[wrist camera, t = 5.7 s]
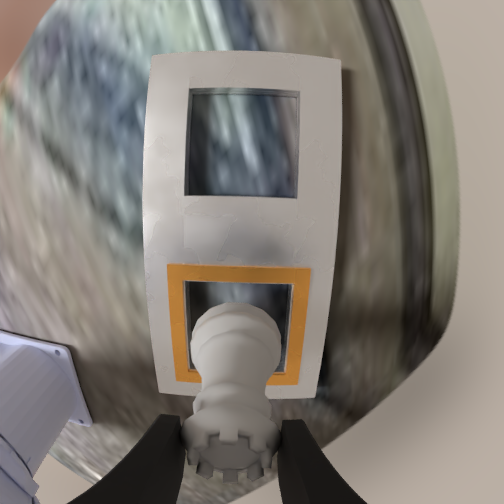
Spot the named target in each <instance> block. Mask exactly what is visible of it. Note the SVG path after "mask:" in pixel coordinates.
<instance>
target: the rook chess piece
mask: <svg viewBox="0 0 504 504" xmlns="http://www.w3.org/2000/svg"><path fill="white" fill-rule="evenodd" d="M190 345H191V358H192V362H193V364H194V366H195V367H196V369H197V371H198V373H199V374H200V376H201V378H202V390H201V392H200V393H198V394H197V396H196V398H195V400H194V402H193V411H194V415H192V416H191V417H189V418H188V419H186V420H185V421H184V423H183V425H182V427H181V429H180V431H179V432H180V438H181V443H182V445H183V446H184V447H185V449H186V450H187V451H188V452H187V460H188V465H197V471H196V473H197V474H198V475H200V476H202V477H204V478H206V479H209V478H211V477H212V476H213V471H217V472H221V473H223V483H229V484H238V474H239V473H244V472H247V478H248V479H250V480H251V481H254V480H256V479H258V478H260V477H263V476H264V470H263V468H271V464H272V457H273V456H274V454H275V453H276V452H277V451H278V450H279V449H280V446H281V439H282V434H281V432H280V430H279V429H278V427H277V425H276V423H274V422H273V421H271V420H270V418H271V411H272V406H271V404H270V402H269V400H268V398H267V396H266V395H265V388H266V383H267V381H268V379H269V378H270V377H271V376H272V374H273V373H274V371H275V370H276V368H277V366H278V365H279V362H280V356H281V335H280V332H279V330H278V327H277V325H276V322H275V321H274V320H273V319H272V318H271V317H270V316H269V315H268V314H267V313H266V312H265V311H264V310H262V309H260V308H257V307H255V306H252V305H250V304H247V303H230V302H227V303H224V304H221V305H218V306H216V307H213V308H210V309H209V310H208V311H207V312H206V313H204V314H203V315H202V316H201V317H200V318H199V319H198V320H197V323H196V325H195V327H194V330H193V332H192V340H191V342H190Z"/></svg>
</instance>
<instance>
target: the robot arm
mask: <svg viewBox="0 0 504 504" xmlns="http://www.w3.org/2000/svg"><path fill="white" fill-rule="evenodd" d="M58 351H59V352H60V353H59V352H58ZM68 421H70V422H73V423H77V424H80V425H84V426H88V427H90V426H91V425H92V423H93V422H92V419H91V417H90V414H89V411H88V408H87V406H86V403H85V400H84V397H83V394H82V391H81V388H80V385H79V382H78V378H77V375H76V372H75V368H74V365H73V361H72V357H71V354H70V351H69V349H68V348H67V347H65V346H62V345H57V344H53V343H48V342H44V341H39V340H35V339H31V338H27V337H23V336H19V335H15V334H11V333H8V332H4V331H1V330H0V504H40V502H39V500H38V499H37V497H36V496H35V494H36V492H37V490H38V488H39V485H38V484H37V483H36V482H35V481H34V480H33V479H32V478H33V476H34V475H35V473H36V471H37V470H38V468H39V466H40V465H41V463H42V461H43V460H44V458H45V457H46V455H47V453H48V452H49V450H50V448H51V447H52V445H53V444H54V442H55V440H56V439H57V437H58V436H59V434H60V433H61V431H62V429H63V428H64V426H65V425H66V423H67V422H68ZM180 429H181V424H180V417H179V416H174V415H165V414H161V415H159V416H158V417H157V419H156V420H155V421H154V423H153V424H152V425H151V427H150V428H149V429H148V431H147V432H146V433H145V434H144V435H143V437H142V438H141V439H140V440H139V442H138V443H137V444H136V445H135V446H134V447H133V448H132V449H131V451H130V452H129V453H128V454H127V455H126V456H125V457H124V458H123V459H122V460H121V461H120V462H119V463H118V464H117V465H116V466H115V467H114V468H113V469H112V470H111V471H110V472H109V473H108V474H107V475H105V476H104V477H103V478H102V479H101V480H100V481H98V482H97V483H96V484H95V485H93V486H92V487H91V488H90V489H88V490H87V491H86V492H84V493H83V494H81V495H80V496H78V497H76V498H75V499H73V500H72V501H70V502H69V503H67V504H176V501H177V498H178V494H179V490H180V486H181V482H182V478H183V471H184V463H185V454H186V453H185V447H184V446H183V445H182V443H181V438H180V432H179V431H180ZM281 434H282V439H281V446H280V449H279V450H278V455H277V462H278V479H279V486H280V491H281V497H282V502H283V504H367V503H366V502H365V501H364V500H363V499H362V498H361V497H360V496H358V494H357V493H356V492H355V491H354V490H353V489H352V488H351V487H350V486H349V485H348V484H347V483H346V481H345V480H344V479H343V478H342V477H341V476H340V475H339V473H338V472H337V471H336V470H335V468H334V467H333V466H332V464H331V463H330V462H329V460H328V459H327V458H326V457H325V455H324V453H323V452H322V451H321V449H320V448H319V446H318V445H317V443H316V441H315V440H314V438H313V437H312V435H311V433H310V431H309V430H308V428H307V426H306V424H305V422H304V421H303V420H302V419H299V420H283V421H282V428H281Z"/></svg>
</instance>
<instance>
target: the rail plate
mask: <svg viewBox="0 0 504 504" xmlns="http://www.w3.org/2000/svg"><path fill="white" fill-rule="evenodd" d="M196 94H252V95H273V96H288V97H297V103H296V149H295V178H294V198H289V197H266V196H234V195H189V159H190V135H191V116H192V100H193V95H196ZM341 158H342V79H341V60H338V59H332V58H325V57H318V56H310V55H301V54H291V53H279V52H263V51H198V52H181V53H169V54H159V55H152V60H151V68H150V77H149V86H148V96H147V107H146V120H145V136H144V158H143V239H144V261H145V278H146V291H147V303H148V314H149V323H150V332H151V341H152V348H153V356H154V363H155V370H156V376H157V383H158V389H159V393H167V394H176V395H186V396H197V394H198V393H200V392H201V390H202V378H201V376H200V374H199V373H198V371H197V369H196V367H195V366H194V364H193V362H192V358H191V345H190V342H191V340H192V335H191V316H190V291H189V281H201V282H229V283H265V284H289V285H288V298H287V310H286V323H285V334H284V345H283V356H282V361H280V362H279V365H278V366H277V368H276V370H275V371H274V373H273V374H272V376H271V377H270V378H269V379H268V381H267V383H266V388H265V395H266V396H267V398H268V399H293V398H315V394H316V389H317V383H318V378H319V372H320V367H321V361H322V355H323V349H324V342H325V336H326V329H327V322H328V315H329V307H330V300H331V291H332V283H333V274H334V264H335V254H336V243H337V231H338V218H339V203H340V184H341Z"/></svg>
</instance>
